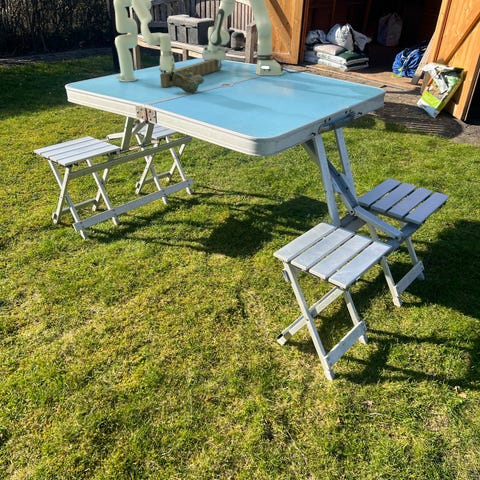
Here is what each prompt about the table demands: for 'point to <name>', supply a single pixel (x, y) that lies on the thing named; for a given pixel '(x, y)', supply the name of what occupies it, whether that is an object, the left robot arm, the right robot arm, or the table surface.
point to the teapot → (188, 81)
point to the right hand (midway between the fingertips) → (215, 65)
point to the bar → (196, 69)
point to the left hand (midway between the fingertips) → (168, 80)
